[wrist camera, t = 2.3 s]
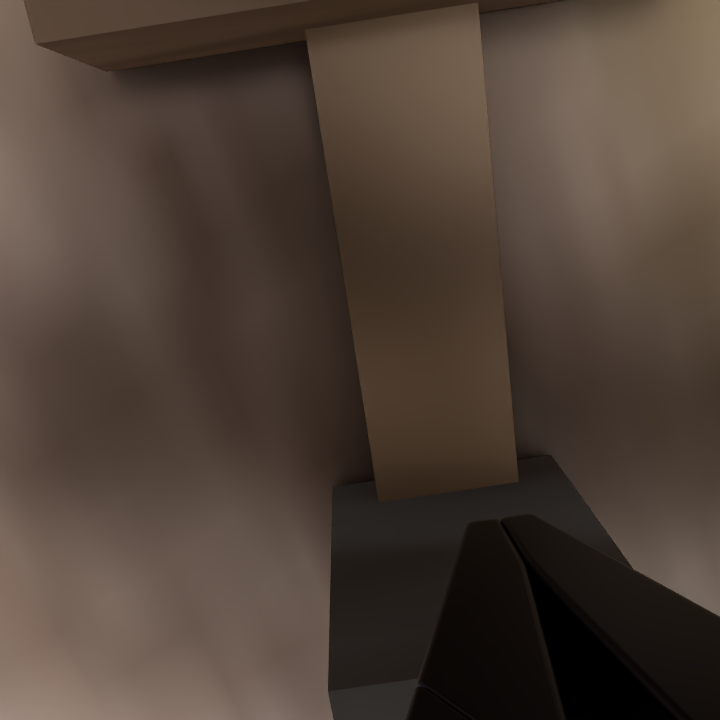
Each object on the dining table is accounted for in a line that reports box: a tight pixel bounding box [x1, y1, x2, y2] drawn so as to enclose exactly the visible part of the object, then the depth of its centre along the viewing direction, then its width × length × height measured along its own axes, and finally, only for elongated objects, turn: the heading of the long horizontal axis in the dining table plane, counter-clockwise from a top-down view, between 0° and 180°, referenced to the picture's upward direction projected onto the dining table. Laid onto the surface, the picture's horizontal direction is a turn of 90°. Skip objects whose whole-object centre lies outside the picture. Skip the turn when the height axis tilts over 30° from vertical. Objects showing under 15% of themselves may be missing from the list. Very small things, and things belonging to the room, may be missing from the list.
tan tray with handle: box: [24, 0, 633, 720], centre depth 10 cm, size 23×11×6 cm, turn 8°
